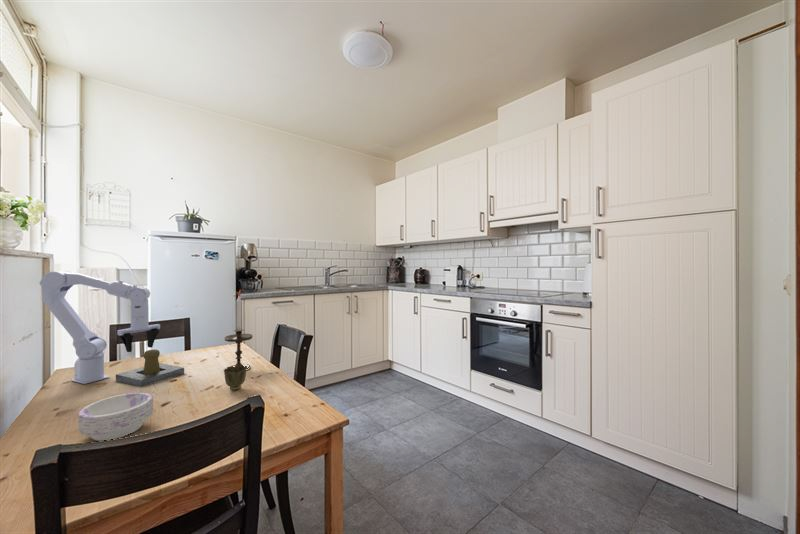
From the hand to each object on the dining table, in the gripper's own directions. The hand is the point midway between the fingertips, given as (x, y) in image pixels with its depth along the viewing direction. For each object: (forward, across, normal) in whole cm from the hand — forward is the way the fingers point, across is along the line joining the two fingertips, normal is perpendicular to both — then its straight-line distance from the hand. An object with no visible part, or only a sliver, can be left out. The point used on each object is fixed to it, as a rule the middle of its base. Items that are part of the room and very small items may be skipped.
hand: (139, 349), depth 132 cm
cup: (+11, +4, -50) cm, 51 cm away
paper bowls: (+11, -30, -46) cm, 56 cm away
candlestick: (+11, +21, -31) cm, 39 cm away
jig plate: (+10, 0, -8) cm, 13 cm away
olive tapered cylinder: (+11, 0, -8) cm, 13 cm away
